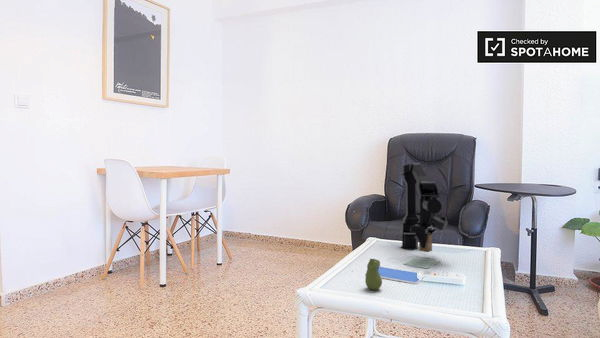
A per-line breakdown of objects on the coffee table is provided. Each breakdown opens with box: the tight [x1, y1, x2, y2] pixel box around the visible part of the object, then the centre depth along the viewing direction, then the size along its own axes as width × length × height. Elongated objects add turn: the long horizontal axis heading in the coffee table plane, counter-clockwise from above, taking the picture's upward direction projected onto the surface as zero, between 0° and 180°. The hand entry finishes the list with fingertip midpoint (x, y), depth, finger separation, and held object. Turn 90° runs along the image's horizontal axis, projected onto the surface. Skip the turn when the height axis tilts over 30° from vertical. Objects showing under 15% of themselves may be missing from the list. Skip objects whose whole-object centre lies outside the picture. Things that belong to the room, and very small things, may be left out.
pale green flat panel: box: [403, 256, 440, 270], centre depth 163 cm, size 10×14×1 cm
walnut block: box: [418, 234, 433, 253], centre depth 166 cm, size 4×4×7 cm
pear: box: [364, 258, 383, 291], centre depth 130 cm, size 6×5×10 cm
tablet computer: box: [364, 266, 421, 285], centre depth 146 cm, size 19×13×1 cm, turn 59°
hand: (425, 247), depth 166 cm, fingers closed on walnut block, 4 cm apart
